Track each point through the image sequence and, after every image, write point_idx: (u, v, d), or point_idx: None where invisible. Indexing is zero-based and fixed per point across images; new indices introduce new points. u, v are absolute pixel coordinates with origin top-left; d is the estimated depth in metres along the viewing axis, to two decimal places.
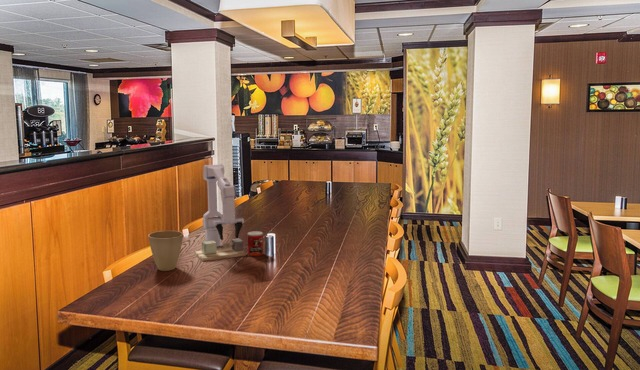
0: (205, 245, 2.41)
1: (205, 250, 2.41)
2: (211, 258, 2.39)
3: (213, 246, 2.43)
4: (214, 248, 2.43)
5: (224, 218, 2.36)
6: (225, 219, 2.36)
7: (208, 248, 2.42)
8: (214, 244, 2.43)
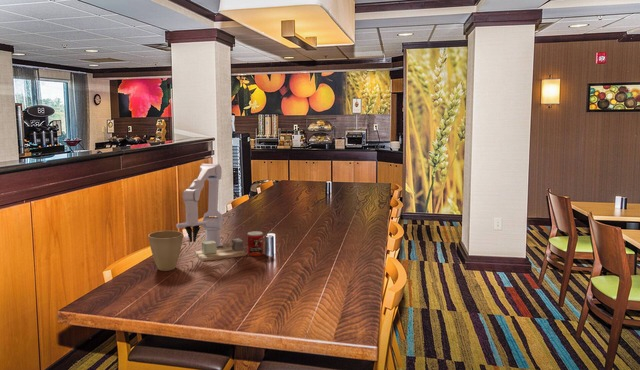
0: (205, 245, 2.41)
1: (205, 250, 2.41)
2: (211, 258, 2.39)
3: (213, 246, 2.43)
4: (214, 248, 2.43)
5: (187, 221, 2.37)
6: (188, 222, 2.37)
7: (208, 248, 2.42)
8: (214, 244, 2.43)
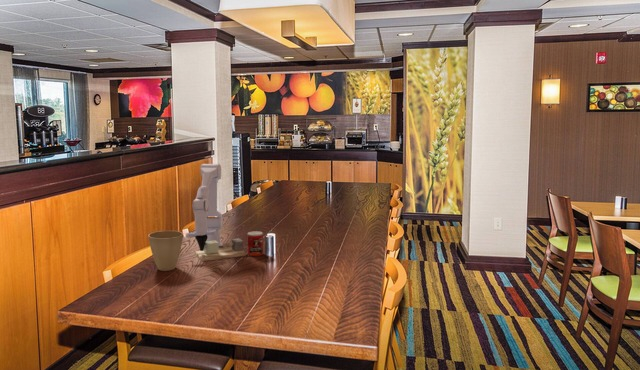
0: (207, 245, 2.42)
1: (207, 250, 2.42)
2: (211, 258, 2.39)
3: (215, 245, 2.43)
4: (216, 248, 2.44)
5: (196, 230, 2.39)
6: (197, 231, 2.39)
7: (210, 248, 2.42)
8: (216, 244, 2.44)
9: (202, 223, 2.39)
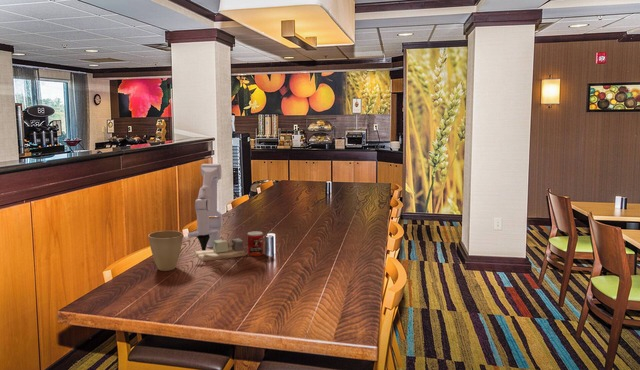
0: (216, 244, 2.44)
1: (216, 249, 2.44)
2: (211, 258, 2.39)
3: (224, 244, 2.46)
4: (225, 247, 2.46)
5: (198, 230, 2.40)
6: (199, 231, 2.40)
7: (219, 247, 2.45)
8: (225, 243, 2.46)
9: (204, 223, 2.39)
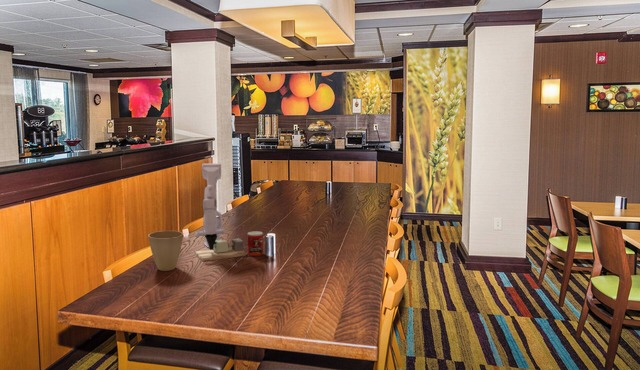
0: (216, 244, 2.44)
1: (216, 249, 2.44)
2: (211, 258, 2.39)
3: (224, 244, 2.46)
4: (225, 247, 2.46)
5: (206, 229, 2.42)
6: (207, 230, 2.41)
7: (219, 247, 2.45)
8: (225, 243, 2.46)
9: (213, 222, 2.41)
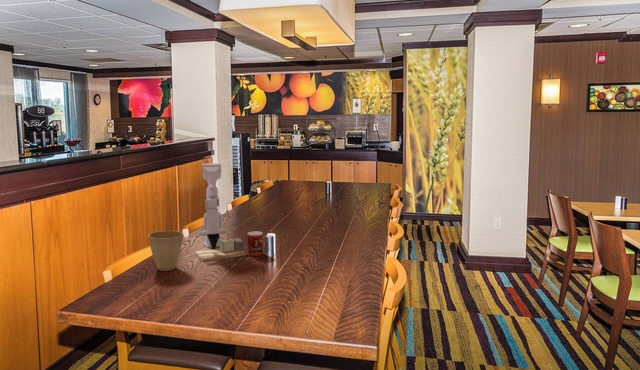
0: (223, 243, 2.45)
1: (223, 248, 2.46)
2: (211, 258, 2.39)
3: (231, 244, 2.47)
4: (232, 246, 2.48)
5: (208, 229, 2.42)
6: (209, 230, 2.42)
7: (226, 246, 2.46)
8: (232, 242, 2.47)
9: (215, 222, 2.42)
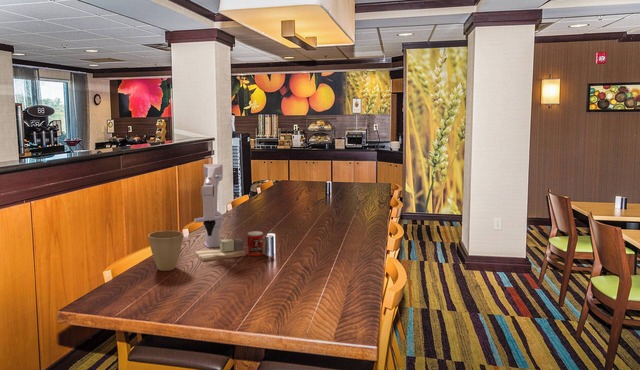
0: (223, 243, 2.45)
1: (223, 248, 2.46)
2: (211, 258, 2.39)
3: (231, 244, 2.47)
4: (232, 246, 2.48)
5: (204, 216, 2.45)
6: (205, 217, 2.44)
7: (226, 246, 2.46)
8: (232, 242, 2.47)
9: (211, 208, 2.44)
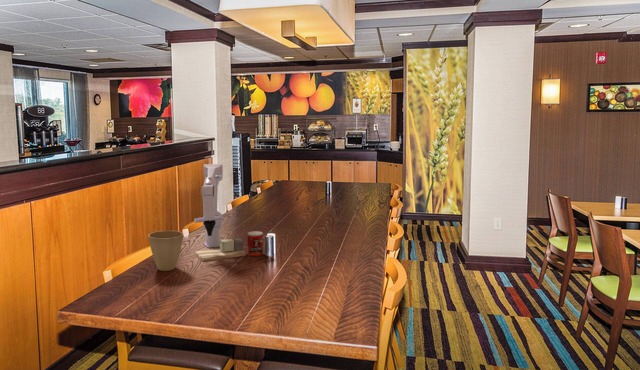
0: (223, 243, 2.45)
1: (223, 248, 2.46)
2: (211, 258, 2.39)
3: (231, 244, 2.47)
4: (232, 246, 2.48)
5: (204, 216, 2.45)
6: (205, 217, 2.44)
7: (226, 246, 2.46)
8: (232, 242, 2.47)
9: (211, 208, 2.44)
